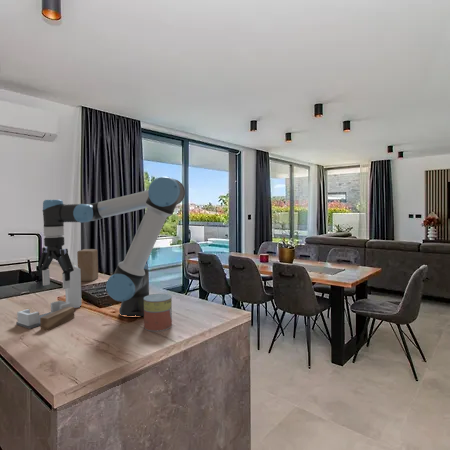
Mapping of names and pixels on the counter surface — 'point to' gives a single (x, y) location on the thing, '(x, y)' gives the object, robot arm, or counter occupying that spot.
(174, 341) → the counter surface
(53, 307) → the endcap rail
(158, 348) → the counter surface
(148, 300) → the canned food
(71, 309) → the slat
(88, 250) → the wooden block
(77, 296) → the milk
